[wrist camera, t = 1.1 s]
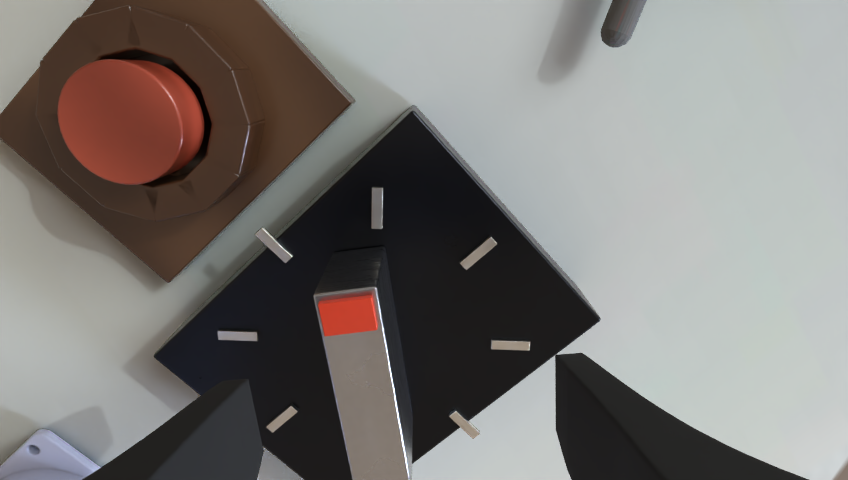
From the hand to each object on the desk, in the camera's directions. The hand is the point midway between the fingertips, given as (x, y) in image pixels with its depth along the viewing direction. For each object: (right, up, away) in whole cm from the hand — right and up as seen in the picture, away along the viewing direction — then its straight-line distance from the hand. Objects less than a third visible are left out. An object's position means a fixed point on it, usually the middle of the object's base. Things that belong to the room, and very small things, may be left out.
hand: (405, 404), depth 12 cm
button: (-8, +8, +5) cm, 12 cm away
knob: (-1, 0, +7) cm, 7 cm away
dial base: (-1, +1, +10) cm, 10 cm away
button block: (-8, +9, +7) cm, 14 cm away
